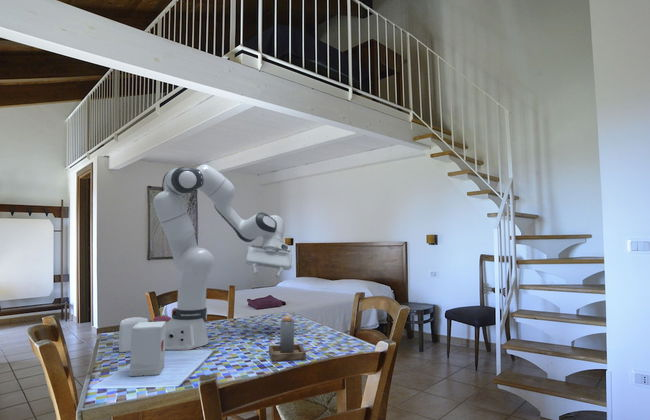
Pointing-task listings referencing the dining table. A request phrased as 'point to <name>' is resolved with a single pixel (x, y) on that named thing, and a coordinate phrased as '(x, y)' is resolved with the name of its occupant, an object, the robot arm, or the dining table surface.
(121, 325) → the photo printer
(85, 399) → the dining table surface
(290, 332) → the canister
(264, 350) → the dining table surface
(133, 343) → the supplement box
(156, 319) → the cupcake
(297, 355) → the tray
